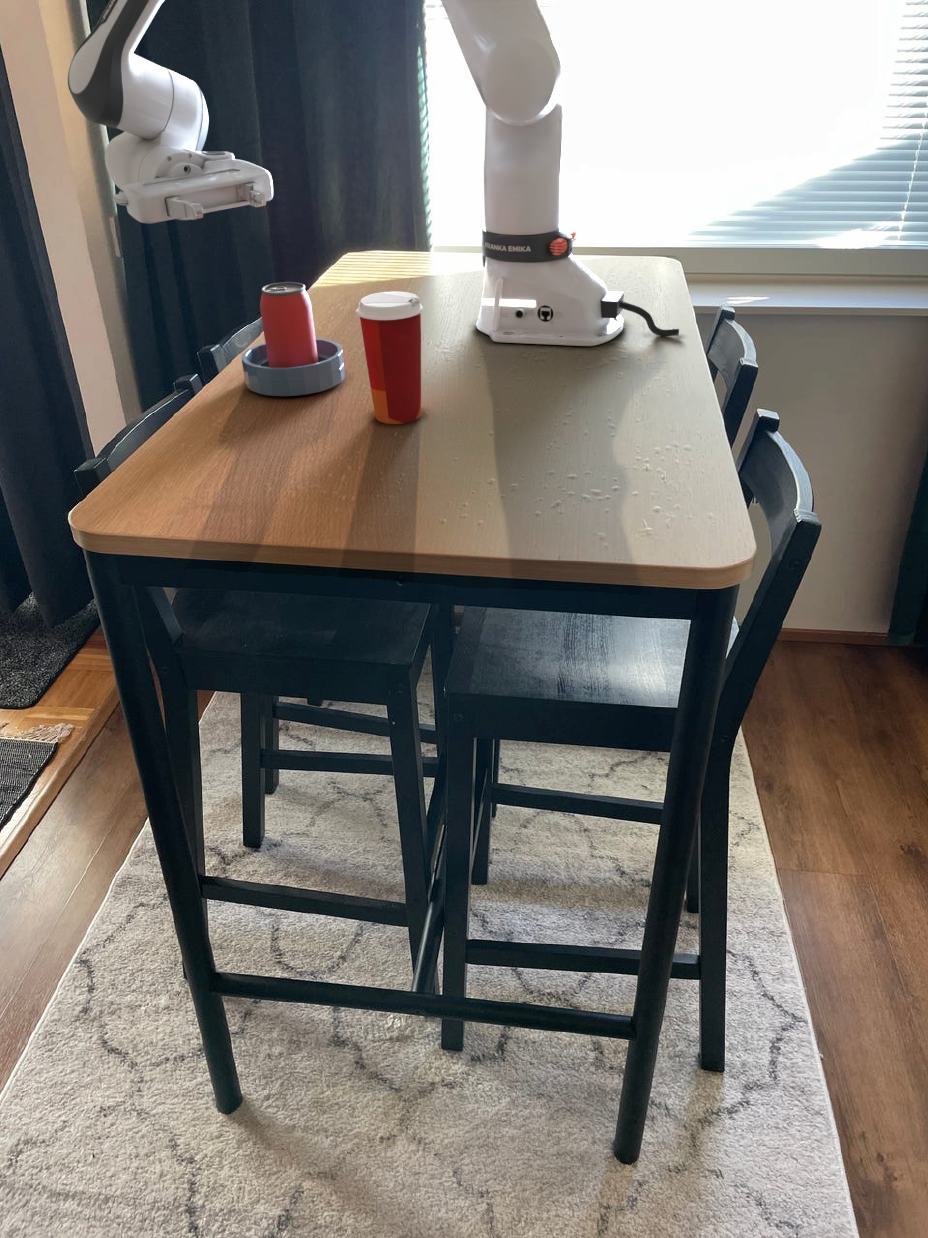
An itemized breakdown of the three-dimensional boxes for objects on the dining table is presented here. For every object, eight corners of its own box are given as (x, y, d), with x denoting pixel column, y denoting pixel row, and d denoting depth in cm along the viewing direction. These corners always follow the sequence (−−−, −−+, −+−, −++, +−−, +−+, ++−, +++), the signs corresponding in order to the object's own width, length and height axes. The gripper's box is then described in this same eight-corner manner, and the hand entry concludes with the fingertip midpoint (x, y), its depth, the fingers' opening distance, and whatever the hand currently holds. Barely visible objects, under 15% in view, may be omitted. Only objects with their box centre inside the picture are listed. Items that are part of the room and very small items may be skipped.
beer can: (273, 372, 127) (259, 282, 120) (321, 369, 127) (310, 279, 121) (268, 388, 122) (254, 295, 115) (319, 385, 122) (307, 292, 115)
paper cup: (438, 407, 115) (432, 291, 107) (415, 430, 109) (407, 309, 101) (380, 401, 117) (370, 288, 110) (355, 424, 111) (343, 305, 104)
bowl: (363, 371, 127) (360, 342, 125) (310, 404, 117) (306, 373, 115) (283, 361, 132) (279, 333, 130) (226, 391, 122) (221, 362, 120)
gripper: (102, 170, 121) (152, 193, 113) (238, 149, 132) (292, 168, 124) (112, 221, 125) (161, 246, 117) (243, 196, 136) (296, 217, 128)
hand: (230, 206), depth 121 cm, fingers open, 8 cm apart
